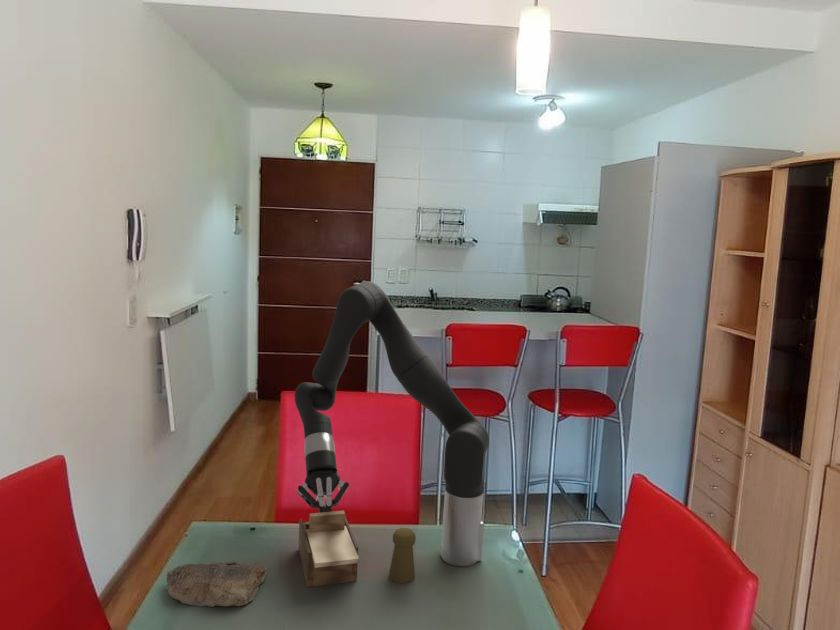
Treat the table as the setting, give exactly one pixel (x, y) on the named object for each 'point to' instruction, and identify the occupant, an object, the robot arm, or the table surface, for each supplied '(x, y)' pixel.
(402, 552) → the tan pawn
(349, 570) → the lid box
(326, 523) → the cover plate
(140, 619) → the table surface
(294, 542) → the table surface
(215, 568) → the clay tablet
